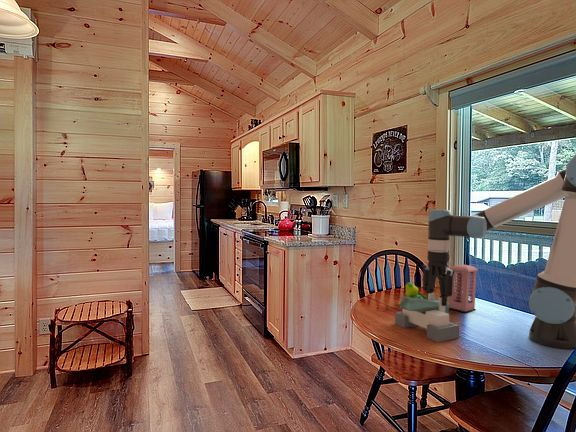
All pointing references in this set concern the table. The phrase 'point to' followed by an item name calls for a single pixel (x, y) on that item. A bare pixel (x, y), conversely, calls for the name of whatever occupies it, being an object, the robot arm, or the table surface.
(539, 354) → the table surface
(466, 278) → the miniature model
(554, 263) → the robot arm
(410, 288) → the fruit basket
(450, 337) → the cradle
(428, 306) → the grey-green long bar
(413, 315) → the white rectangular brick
